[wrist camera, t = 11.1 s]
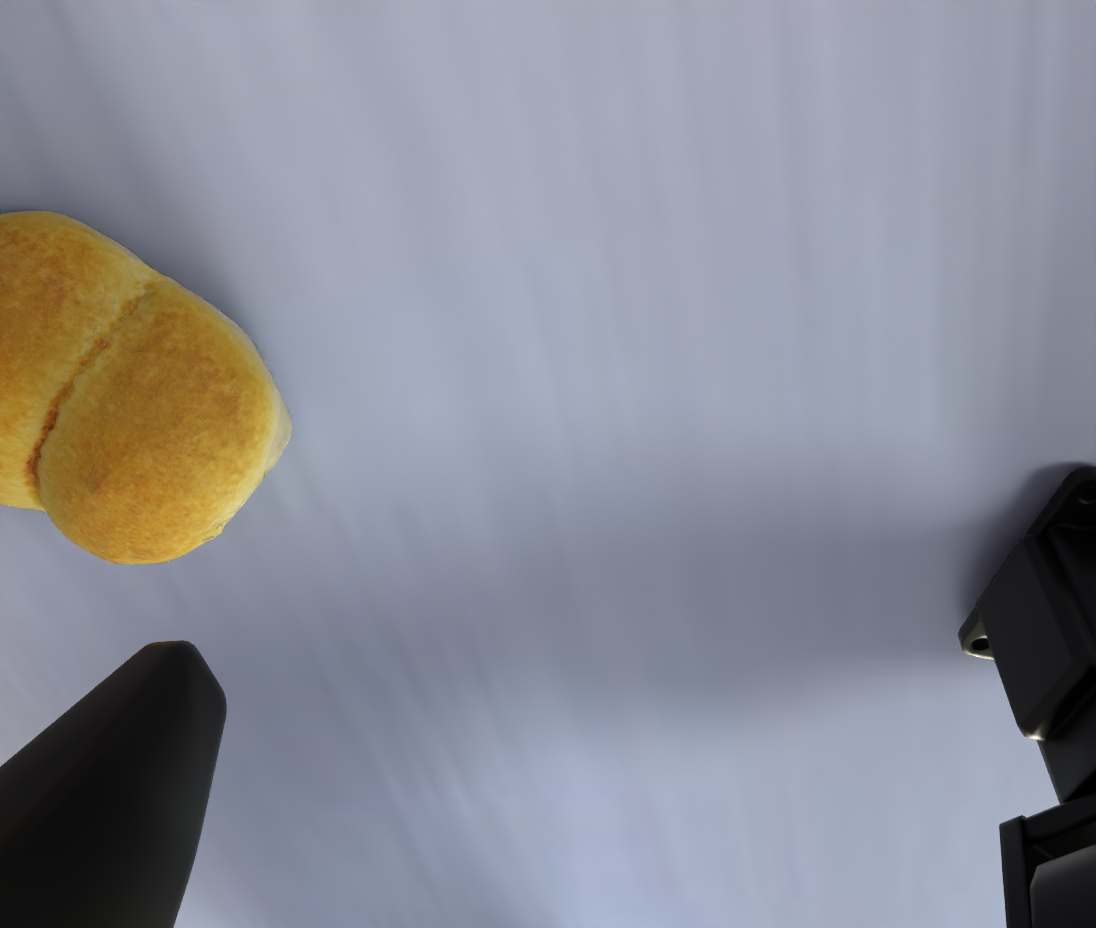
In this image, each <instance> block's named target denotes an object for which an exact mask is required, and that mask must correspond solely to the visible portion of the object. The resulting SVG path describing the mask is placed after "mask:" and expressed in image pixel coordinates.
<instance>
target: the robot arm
mask: <svg viewBox="0 0 1096 928" xmlns="http://www.w3.org/2000/svg"><path fill="white" fill-rule="evenodd" d="M1091 485H1096V467H1090V466H1088V467H1084V468H1080V469H1078V470H1076V471H1074V472H1072V473H1071V474H1070V475H1069V476H1068V477H1067V478H1066V479H1065V480H1064V481H1063V483H1062V484H1061V486H1060V487H1059V489H1058V490H1057V491H1056V493H1055V494H1054V496H1053V497H1052V499H1051V500H1050V501H1049V503H1048V504H1047V506H1046V507H1045V509H1044V510H1043V511H1042V513H1041V514H1040V516H1039V517H1038V519H1037V520H1036V521H1035V523H1034V524H1033V526H1032V527H1031V529H1030V530H1029V531H1028V533H1027V534H1026V536H1025V537H1024V538H1023V539H1022V540H1020V541H1019V543H1018V544H1017V545H1016V547H1015V548H1014V550H1013V551H1012V553H1011V554H1010V555H1009V557H1008V558H1007V560H1006V561H1005V563H1004V564H1003V565H1002V567H1001V568H1000V570H999V571H998V573H997V574H996V575H995V577H994V578H993V580H992V581H991V583H990V584H989V585H988V587H987V588H986V590H985V591H984V593H983V594H982V595H981V597H980V598H979V600H978V601H977V603H976V607H975V608H974V610H973V611H972V613H971V614H970V615H969V617H968V618H967V620H966V621H965V623H964V624H963V625H962V627H961V628H960V630H959V633H958V637H959V640H960V643H961V647H962V650H963V651H964V652H965V653H966V654H969V655H972V656H976V657H981V658H986V659H991V660H995V663H996V666H997V668H998V671H999V674H1000V677H1001V680H1002V683H1003V686H1004V688H1005V691H1006V694H1007V697H1008V700H1009V703H1010V706H1011V709H1012V711H1013V714H1014V717H1015V720H1016V723H1017V725H1018V727H1019V729H1020V730H1021V732H1022V734H1023V735H1024V736H1025V737H1028V738H1033V739H1037V742H1038V745H1039V748H1040V750H1041V753H1042V756H1043V759H1044V761H1045V764H1046V767H1047V770H1048V772H1049V775H1050V778H1051V781H1052V783H1053V786H1054V789H1055V792H1056V795H1057V797H1058V800H1059V803H1060V805H1057V806H1055V807H1052V808H1050V809H1048V810H1045V811H1043V812H1040V813H1038V814H1035V815H1033V816H1030V817H1028V818H1026V817H1025V816H1023V815H1021V816H1018V817H1016V818H1014V819H1011V820H1009V821H1006V822H1004V823H1001V824H1000V826H999V830H1000V843H1001V857H1002V872H1003V885H1004V898H1005V911H1006V925H1007V928H1096V486H1094V487H1093V488H1092V489H1090V490H1087V491H1082V490H1083V489H1085V488H1086V487H1089V486H1091ZM979 638H980V639H979ZM226 711H227V705H226V698H225V694H224V691H223V689H222V687H221V686H220V684H219V683H218V681H217V679H216V678H215V676H214V675H213V673H212V671H211V670H210V668H209V667H208V665H207V663H206V662H205V660H204V659H203V657H202V655H201V654H200V652H199V651H198V649H197V648H196V647H195V645H193V644H192V643H190V642H188V641H183V640H182V641H166V642H154V643H151V644H148V645H146V646H145V647H143V648H142V649H141V650H139V651H138V652H137V653H136V654H135V655H133V656H132V657H131V658H130V659H129V660H127V661H126V662H125V663H124V664H123V665H121V666H120V667H119V668H118V669H117V670H115V671H114V672H113V673H112V674H111V675H110V676H108V677H107V678H106V679H105V680H104V681H102V682H101V683H100V684H99V685H98V686H96V687H95V688H94V689H93V690H92V691H90V692H89V693H88V694H87V695H86V696H84V697H83V698H82V699H81V700H80V701H78V702H77V703H76V704H75V705H74V706H72V707H71V708H70V709H69V710H68V711H67V712H65V713H64V714H63V715H62V716H61V717H59V718H58V719H57V720H56V721H55V722H53V723H52V724H51V725H50V726H49V727H47V728H46V729H45V730H44V731H43V732H41V733H40V734H39V735H38V736H37V737H35V738H34V739H33V740H32V741H31V742H29V743H28V744H27V745H26V746H25V747H24V748H22V749H21V750H20V751H19V752H18V753H16V754H15V755H14V756H13V757H12V758H10V759H9V760H8V761H7V762H6V763H4V764H3V765H2V766H1V767H0V928H173V927H174V924H175V921H176V918H177V914H178V911H179V908H180V905H181V902H182V899H183V896H184V893H185V890H186V887H187V883H188V880H189V877H190V873H191V870H192V866H193V863H194V860H195V856H196V852H197V848H198V844H199V840H200V836H201V831H202V826H203V822H204V817H205V812H206V808H207V803H208V798H209V794H210V789H211V784H212V780H213V775H214V770H215V766H216V761H217V756H218V752H219V747H220V742H221V738H222V733H223V728H224V724H225V719H226Z"/></svg>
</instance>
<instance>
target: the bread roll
mask: <svg viewBox="0 0 1096 928" xmlns="http://www.w3.org/2000/svg"><path fill="white" fill-rule="evenodd" d="M291 436H292V422H291V419H290V416H289V413H288V410H287V407H286V405H285V402H284V400H283V398H282V396H281V394H280V392H279V390H278V388H277V386H276V384H275V382H274V380H273V377H272V375H271V373H270V372H269V370H268V368H267V366H266V364H265V362H264V360H263V359H262V357H261V355H260V353H259V352H258V350H257V348H256V347H255V345H254V344H253V342H252V341H251V339H250V338H249V336H248V335H247V334H246V333H245V332H244V331H243V330H242V329H241V328H240V327H239V326H238V325H237V324H236V323H235V322H234V321H232V320H231V319H230V318H228V317H227V316H226V315H224V314H223V313H222V312H221V311H219V310H218V309H217V308H215V307H214V306H213V305H212V304H210V303H209V302H208V301H206V300H204V299H203V298H201V297H200V296H199V295H197V294H196V293H194V292H192V291H190V290H188V289H186V288H184V287H183V286H182V285H180V284H179V283H177V282H176V281H175V280H173V279H172V278H170V277H167V276H164V275H162V274H160V273H159V272H157V271H156V270H154V269H152V268H150V267H148V266H147V265H146V264H145V263H144V262H143V261H142V260H141V259H140V258H139V257H138V256H136V255H135V254H134V253H133V252H132V251H130V250H129V249H127V248H126V247H124V246H122V245H121V244H119V243H118V242H116V241H114V240H113V239H111V238H109V237H107V236H105V235H103V234H102V233H100V232H98V231H96V230H95V229H93V228H91V227H89V226H88V225H86V224H84V223H82V222H80V221H78V220H75V219H73V218H71V217H68V216H66V215H63V214H61V213H57V212H53V211H20V212H11V213H5V214H0V504H2V505H6V506H12V507H17V508H23V509H34V510H40V511H43V512H46V513H47V514H48V515H49V517H50V518H51V519H52V521H53V522H54V524H55V525H56V527H57V528H58V529H59V530H60V531H61V532H62V533H63V534H64V535H65V536H66V537H67V538H68V539H69V540H71V541H72V542H74V543H75V544H76V545H78V546H79V547H81V548H82V549H84V550H86V551H88V552H90V553H92V554H93V555H95V556H97V557H99V558H101V559H104V560H107V561H109V562H112V563H115V564H150V563H165V562H168V561H170V560H172V559H175V558H178V557H180V556H183V555H185V554H186V553H188V552H190V551H191V550H193V549H195V548H196V547H198V546H200V545H202V544H204V543H206V542H207V541H211V540H212V539H214V538H215V537H216V536H218V535H221V533H222V531H223V528H224V526H225V525H226V523H228V522H229V520H230V519H231V518H232V517H233V516H234V515H235V513H236V512H237V511H238V509H240V508H241V506H242V505H244V504H245V502H246V500H247V499H248V498H249V496H250V495H251V494H252V492H253V491H254V490H255V489H256V488H257V487H258V486H259V484H260V483H261V482H262V480H263V478H264V477H265V476H266V474H267V473H268V472H269V471H270V470H271V469H272V467H274V465H275V464H276V462H277V461H278V459H279V457H280V456H281V454H282V452H283V450H284V449H285V447H286V445H287V443H288V441H289V440H290V438H291Z"/></svg>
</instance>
